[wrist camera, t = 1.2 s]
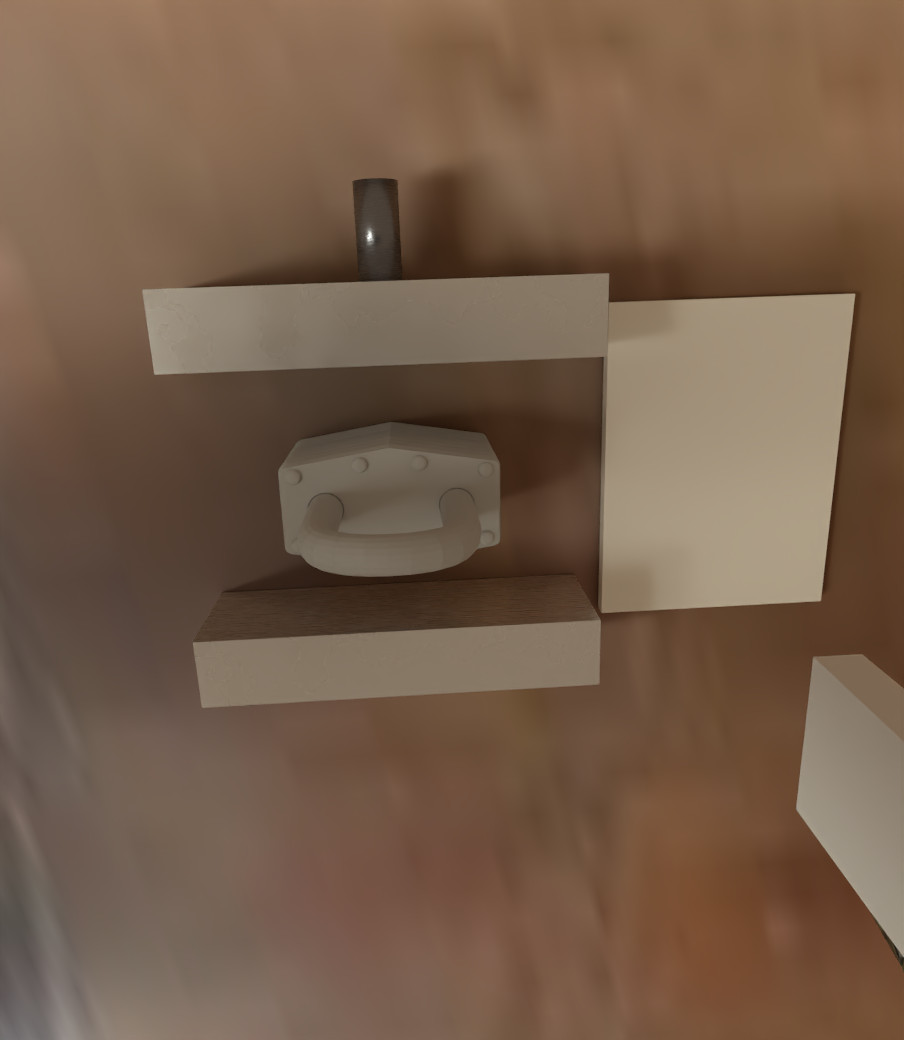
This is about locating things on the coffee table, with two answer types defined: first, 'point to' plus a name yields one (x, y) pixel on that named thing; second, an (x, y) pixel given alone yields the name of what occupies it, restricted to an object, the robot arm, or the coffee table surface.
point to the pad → (719, 449)
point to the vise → (399, 606)
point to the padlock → (390, 499)
